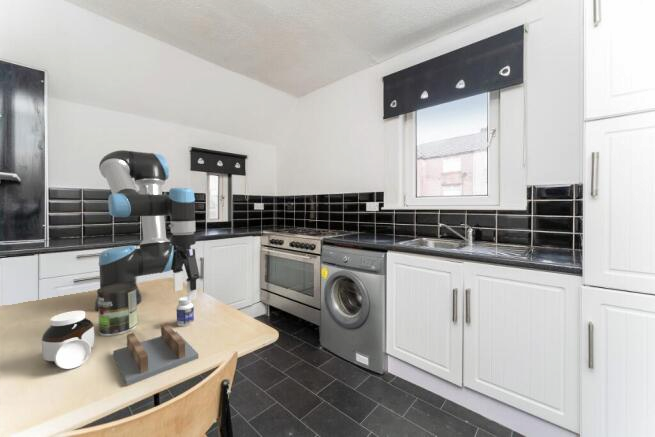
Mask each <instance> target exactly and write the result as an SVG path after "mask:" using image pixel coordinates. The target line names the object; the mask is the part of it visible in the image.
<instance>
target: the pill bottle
mask: <svg viewBox="0 0 655 437" xmlns="http://www.w3.org/2000/svg"><path fill="white" fill-rule="evenodd" d="M192 301H193V300H189V301H188V296H182V297H180V298H178V304H177V306H176V325H177V327H187V326H190V325H192V324H193V323H194V322H195V321H194V320H195V319H194V318H195V317H194V316H195V314H194V313H195V312H194V311H195V310H194V309H195V308H194V304H193V303H192Z"/></svg>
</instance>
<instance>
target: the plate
mask: <svg viewBox="0 0 655 437" xmlns="http://www.w3.org/2000/svg"><path fill="white" fill-rule="evenodd" d="M175 332H176V333H177V335H178V336H179V337H180V338H181V339H182V340H183V341H184V342H185V357H183V358H181V359H179V358H178V357H177V356H176V355H175V353H174V352H173V351H172V350H171V349H170V347H169V346H168V345H167V344H166V342H165V341H164V340H163V339H162V338H161V335H160V336H157V337H153V338H151V339H147V340H145V341H142V342H140V341H139V342H140V344H141V345H142V347H143V348H144V350H145V352H146V353H147V355H148V371H146V372H143V373H140V371H139V369H138V367H137V365H136V363H135V362H134V360H133V358H132V356H131V354H130V352H129V350H128V349H127V346H125V347H121V348H118V349H115V350H112V352H113V353H112V354H113V357H114V360H115V362H116V365H117V367H118V369H119V371H120V374H121V376H122V379H123V381H124V383H125V385H126V387H129V386H131V385H133V384H136V383H139V382H141V381H143V380H146V379H148V378H151V377H154V376H156V375H159V374H161V373H164V372H167V371H169V370H172V369H174V368H176V367H179V366H182V365H185V364H188V363H189V362H192V361H195V360H197V359H199V353H198V352H197V351H196V349H195V348H193V347H192V345H190V344H189V343H188V341H187V340H185V338H184V337H182V335H181V334H180V333H179V332H178V331H175Z"/></svg>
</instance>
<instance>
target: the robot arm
mask: <svg viewBox="0 0 655 437" xmlns="http://www.w3.org/2000/svg"><path fill="white" fill-rule="evenodd" d="M98 167H99V168H98V169H99V172H100V174H101V176H103V178H105V179H106V181H107V184H108V186H109V190H110V191H111V194H110V195H109V196H108V200H107V202H108V204H107V205H108V212H109V215H110V216H112V217H114V218H117V217H119V218H128V217H132V218H134V217H141V226H142V237H143V238H142V239H143V240H142V241H141V242H140V243H139V248H136V247H135V246H134V245H124V246H117V247H112V248H108V249H105V250H103V251H102V252H100V253H99V255H98V266H99V289H100V288H102V287H104V286H108V285H112V284H119V283H134V284H136V285H137V277H142V276H148V275H149V276H150V275H154V274H155V275H157V274H163V273H165V272H166V273H167V272H171V271H172V273H173V291H174V292H179V291H183V290H184V285H183V282H184V281H183V279H184V277H183V272H184V269H185V272H186V275H187V278H186V280H185V281H186V283H187V284H186V285H187V288H186V289H187V297H188V301H189V300H192V301H193V300H197V299H198V285H197V284H198V283H197V282H198V279H200V278H201V277H200V272H199V267H198V263H197V258H196V257H197V256H196V250H195V249H194V248H192V249H191V246H194V245H195V244H197V241H196V240H197V239H196V236H197V235H196V234H195V233H196V214H195V213H196V212H195V211H196V209H195V208H196V207H195V206H196V205H195V202H196V198H195V190H194V189H192V188H188V187H172V188H170V189H169V193H168V194H163V189H162V188H163V185H165V184H166V181H167V180H168V179H169V177H170V174H169V172H170V170H169V168H170V167H169V164H168V161H167V159H166V157H165V156H163V155H161V154H159V153H153V152H141V151H132V150H124V149H123V150H116V151H112V152H110V153H107V154H106V155H105V156H103V158H102V159H101V160H100V162H99V165H98ZM133 179H134V180H133ZM137 186H138V187H137ZM167 216H169V220H170V224H168V228H170V233H171V234H170V239H168V238H167V235H166V234H167V233H166V232H167V230H166V220H165V217H167ZM183 266H184V268H183ZM142 300H143V299H142V293H141V291H140V289H139V287H138V285H137V287H136V302H137V305H139V304H141V303H142ZM94 303H95V304H94V308H95V310H96V311H97V312H99V309H98V296H96V299H95V302H94Z"/></svg>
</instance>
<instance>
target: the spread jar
mask: <svg viewBox="0 0 655 437" xmlns="http://www.w3.org/2000/svg"><path fill="white" fill-rule="evenodd" d="M49 321H50V326H49V327H48V328H47V329H46V330H45V332H44V333H43V334H42V338H41V354H42V358H43V360H44V361H45V362H47V363H49V364H53V365H56V366H57V367H58V368H61V369H64V370H71V369H75V368H78V367H79V366H81V365H84V363H85V362H86V361H87V360H88V359H89V357H90V355H91V352H92V349H93V346H94V344H95V326H94V323H93V322H92V321H91V320H89V319H88V318H86V312H85V311H84V310H72V311H66V312H61V313H59V314H56V315H53V316H52V317H51V318H50V320H49Z"/></svg>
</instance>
